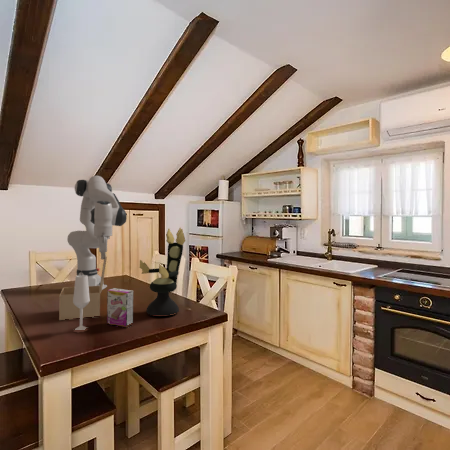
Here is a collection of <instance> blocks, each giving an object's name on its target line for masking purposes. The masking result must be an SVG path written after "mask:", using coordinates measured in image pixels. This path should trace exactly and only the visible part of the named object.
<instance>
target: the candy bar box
mask: <svg viewBox="0 0 450 450" xmlns="http://www.w3.org/2000/svg"><path fill="white" fill-rule="evenodd" d="M106 295H107V298H106V299H107V300H106V302H107V305H106V306H107V307H106V308H107V310H106V312H107V313H106V324H107V323H109V324H116V325H124V326H127V325H129V324H131V323H133V324H134V290H132V289H131V290H130V289H129V290H128V289H123V288H116V287H113V288H109V289H108V290H107V294H106Z"/></svg>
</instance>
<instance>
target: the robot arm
mask: <svg viewBox="0 0 450 450" xmlns="http://www.w3.org/2000/svg"><path fill="white" fill-rule="evenodd" d="M74 192H75V194H76V195H77V196H79V197H82V200H81V205H80V213H79V222H80V223H81V224H82V225H84V227H85V230H75V231H74V230H73V231H71V232H69V233H68V235H67V241H66V242H67V244H68V245H69V246H70V247H71V248H72V249H73V250H74V252H75V255H76V260H77V262H76V263H77V266H76V267H77V269H76V272H75V273H76V276H78V275H87V276H88V286H100V282H101V275H99V274H98V272H100V270H101V269H100V268H99V267H97V257H96V255H95V254H93V253H92V252H91V250H90V249H98V252H99V253H100V260H104V259H105V253H107V252H108V240H110V237H112V236H113V226H116V227H122V226H123V225H125V224H126V222H127V217H128V216H127V212H126V210H125V209H124V208H123V207H122V205H121V203H120V201H119V199H118V197H117V195H116V194H115V193H113V188H112V185H111V184H110V183H107V182H106V180H105V179H104V178H103V177H102V176H101V175H93V176H91V177H89V179H88V180H87V179H79V180H77V181H76V183H75V184H74ZM74 279H76V277H75V278H74ZM107 287H108V285H107V284H104V283H103V286H102V291H103V290H104V289H106V288H107Z"/></svg>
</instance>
